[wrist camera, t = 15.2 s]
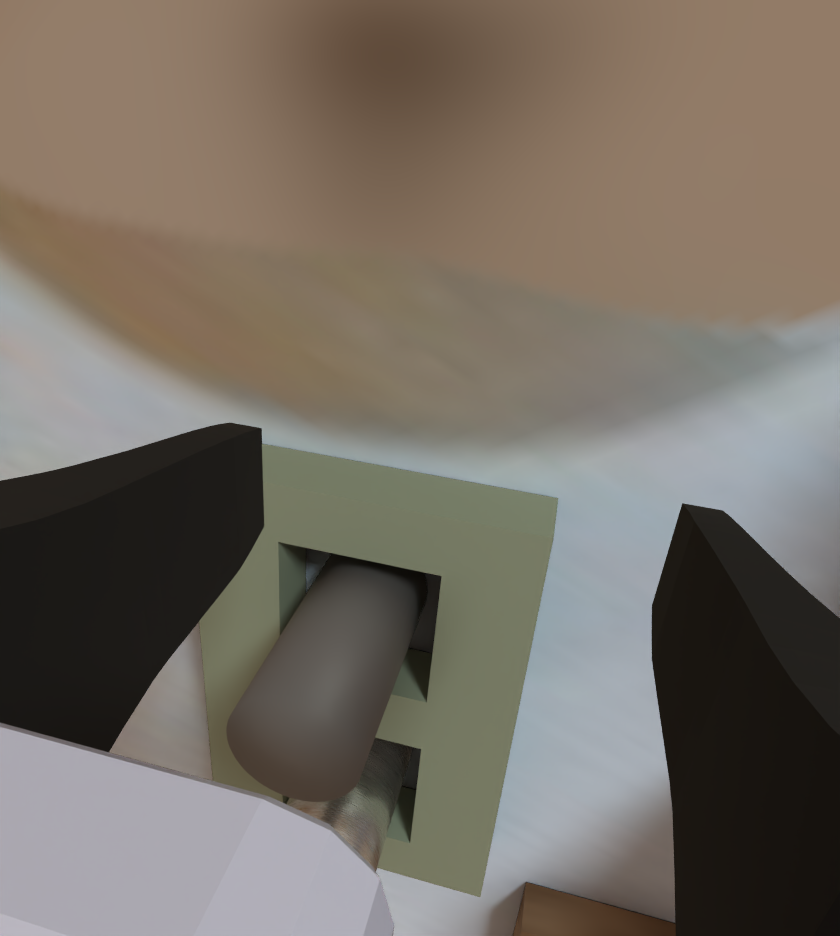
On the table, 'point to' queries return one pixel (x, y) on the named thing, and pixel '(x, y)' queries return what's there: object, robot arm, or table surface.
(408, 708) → the tool rack
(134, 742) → the table surface
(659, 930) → the socket holder
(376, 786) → the steel peg
